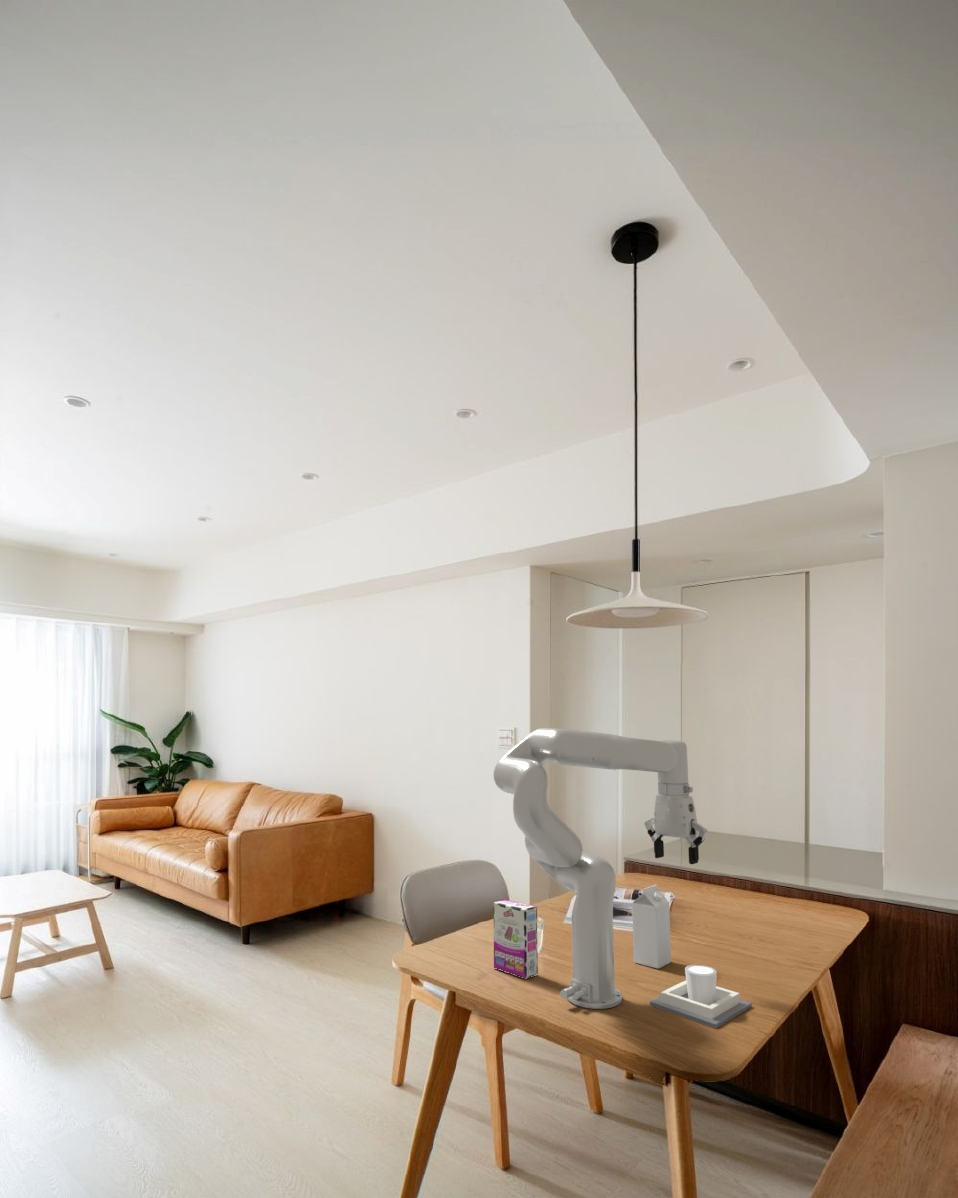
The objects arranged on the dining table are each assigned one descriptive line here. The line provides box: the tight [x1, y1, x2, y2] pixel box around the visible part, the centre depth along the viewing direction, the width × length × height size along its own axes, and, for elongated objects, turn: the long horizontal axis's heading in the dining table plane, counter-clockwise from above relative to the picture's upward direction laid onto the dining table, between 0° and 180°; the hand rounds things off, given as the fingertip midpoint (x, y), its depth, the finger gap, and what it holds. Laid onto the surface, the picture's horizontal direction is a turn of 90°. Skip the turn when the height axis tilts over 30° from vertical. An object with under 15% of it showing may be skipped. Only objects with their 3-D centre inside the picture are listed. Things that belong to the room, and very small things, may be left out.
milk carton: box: [631, 884, 672, 970], centre depth 189 cm, size 7×7×19 cm
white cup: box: [684, 964, 718, 1006], centre depth 161 cm, size 7×7×7 cm
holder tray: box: [649, 979, 753, 1029], centre depth 160 cm, size 16×16×3 cm
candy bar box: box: [493, 899, 539, 979], centre depth 182 cm, size 11×5×16 cm, turn 46°
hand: (676, 860), depth 179 cm, fingers open, 9 cm apart
